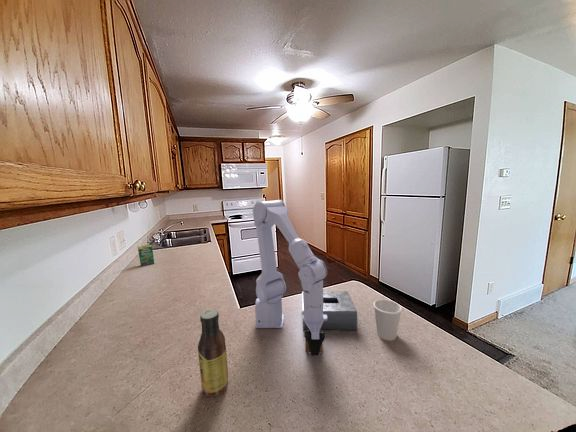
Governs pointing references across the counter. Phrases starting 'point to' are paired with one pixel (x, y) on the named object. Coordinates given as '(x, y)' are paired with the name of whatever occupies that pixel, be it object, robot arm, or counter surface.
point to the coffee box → (146, 255)
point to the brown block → (309, 349)
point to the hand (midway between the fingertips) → (313, 345)
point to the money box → (337, 312)
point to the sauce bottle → (212, 355)
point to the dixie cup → (387, 318)
